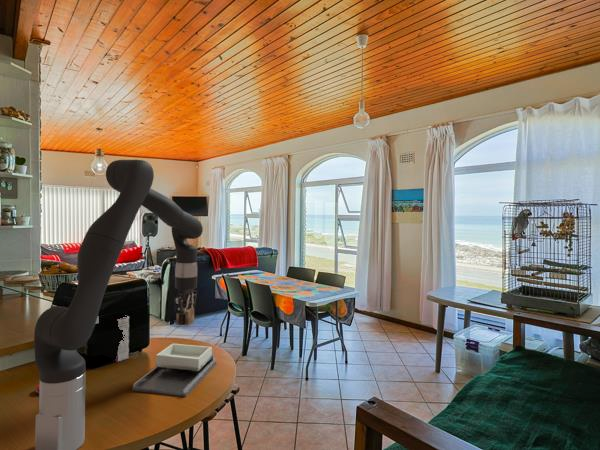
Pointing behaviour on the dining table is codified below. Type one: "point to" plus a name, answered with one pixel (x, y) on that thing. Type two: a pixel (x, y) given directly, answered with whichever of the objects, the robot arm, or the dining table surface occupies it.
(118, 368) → the dining table surface
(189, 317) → the light brown block
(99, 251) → the robot arm
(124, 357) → the candy bar box
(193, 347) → the white box on tray
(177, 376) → the dark rimmed tray
